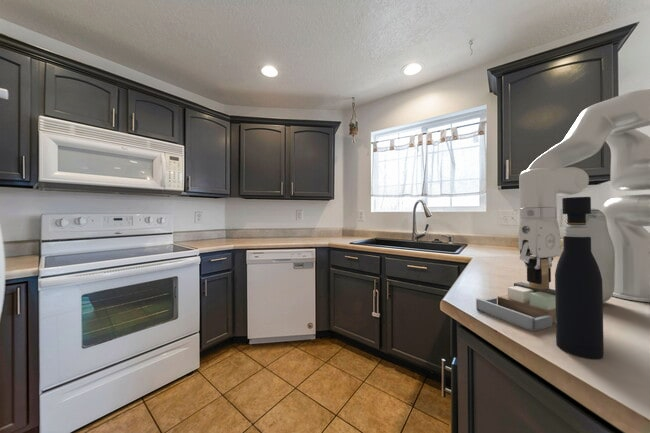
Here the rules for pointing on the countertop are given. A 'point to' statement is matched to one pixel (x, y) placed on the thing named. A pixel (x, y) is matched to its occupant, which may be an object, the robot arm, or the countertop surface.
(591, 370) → the countertop surface
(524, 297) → the cream block
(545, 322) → the tray
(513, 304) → the walnut plate
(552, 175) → the robot arm
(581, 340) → the black bottle
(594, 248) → the white tall rounded piece
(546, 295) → the sage tile
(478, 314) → the countertop surface
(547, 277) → the rubber stamp
